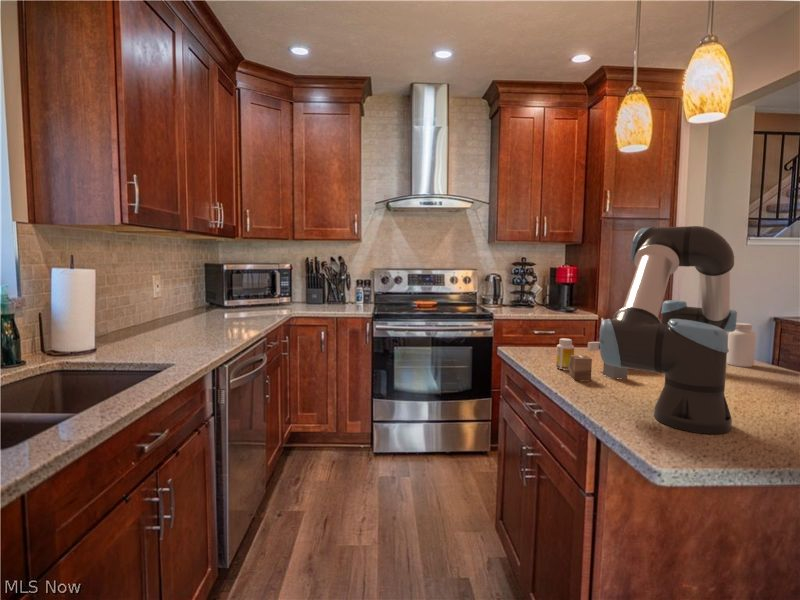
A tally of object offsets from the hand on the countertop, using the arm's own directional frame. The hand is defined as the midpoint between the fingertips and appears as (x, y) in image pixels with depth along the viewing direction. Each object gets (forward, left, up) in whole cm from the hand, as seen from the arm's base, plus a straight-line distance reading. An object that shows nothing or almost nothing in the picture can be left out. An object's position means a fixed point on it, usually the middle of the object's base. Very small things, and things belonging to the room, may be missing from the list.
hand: (589, 346), depth 158 cm
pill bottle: (+10, -57, -8) cm, 58 cm away
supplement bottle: (-2, +9, -8) cm, 12 cm away
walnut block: (-15, +8, -8) cm, 19 cm away
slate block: (-12, -4, -8) cm, 15 cm away
